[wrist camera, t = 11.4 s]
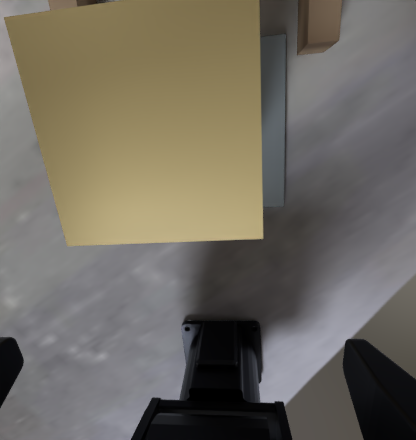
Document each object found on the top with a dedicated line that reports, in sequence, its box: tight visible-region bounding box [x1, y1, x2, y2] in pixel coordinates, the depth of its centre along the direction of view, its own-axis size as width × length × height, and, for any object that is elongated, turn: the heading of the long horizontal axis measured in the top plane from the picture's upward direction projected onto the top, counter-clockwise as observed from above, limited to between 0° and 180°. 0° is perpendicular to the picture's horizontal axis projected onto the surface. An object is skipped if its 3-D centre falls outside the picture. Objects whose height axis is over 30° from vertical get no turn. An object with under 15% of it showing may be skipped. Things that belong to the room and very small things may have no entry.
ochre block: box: [4, 0, 263, 246], centre depth 12 cm, size 5×5×12 cm
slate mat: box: [260, 34, 286, 207], centre depth 18 cm, size 10×10×1 cm
